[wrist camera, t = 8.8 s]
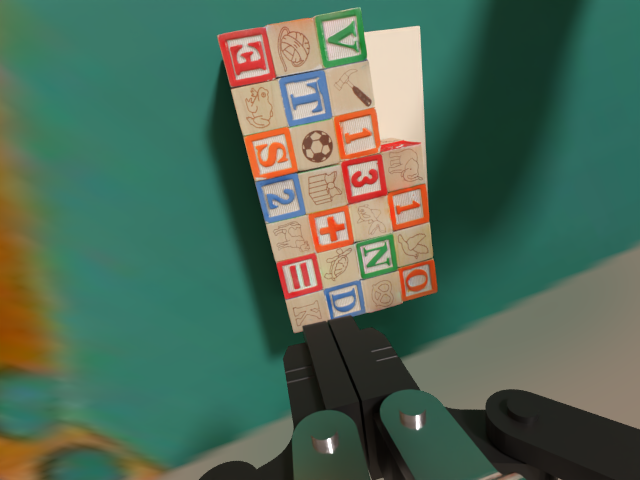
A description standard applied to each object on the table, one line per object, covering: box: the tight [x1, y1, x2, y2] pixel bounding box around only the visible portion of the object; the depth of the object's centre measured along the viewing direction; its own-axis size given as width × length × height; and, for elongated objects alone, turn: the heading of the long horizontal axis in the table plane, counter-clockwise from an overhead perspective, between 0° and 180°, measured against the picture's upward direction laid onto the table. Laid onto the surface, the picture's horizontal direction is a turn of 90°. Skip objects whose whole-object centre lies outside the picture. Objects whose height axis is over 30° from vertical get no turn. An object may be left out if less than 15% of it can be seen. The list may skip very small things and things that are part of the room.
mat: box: [364, 26, 428, 198], centre depth 34 cm, size 14×24×1 cm, turn 8°
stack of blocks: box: [217, 8, 437, 333], centre depth 30 cm, size 21×6×12 cm
